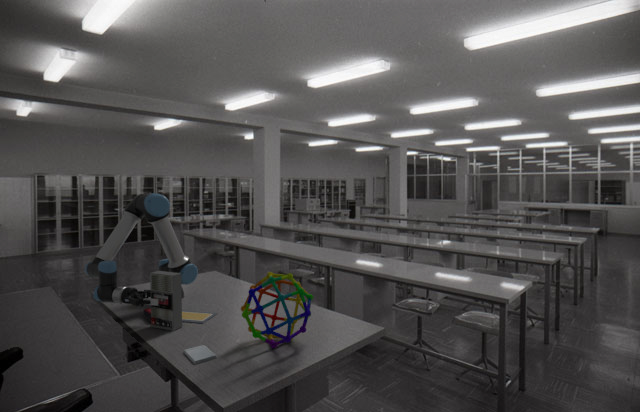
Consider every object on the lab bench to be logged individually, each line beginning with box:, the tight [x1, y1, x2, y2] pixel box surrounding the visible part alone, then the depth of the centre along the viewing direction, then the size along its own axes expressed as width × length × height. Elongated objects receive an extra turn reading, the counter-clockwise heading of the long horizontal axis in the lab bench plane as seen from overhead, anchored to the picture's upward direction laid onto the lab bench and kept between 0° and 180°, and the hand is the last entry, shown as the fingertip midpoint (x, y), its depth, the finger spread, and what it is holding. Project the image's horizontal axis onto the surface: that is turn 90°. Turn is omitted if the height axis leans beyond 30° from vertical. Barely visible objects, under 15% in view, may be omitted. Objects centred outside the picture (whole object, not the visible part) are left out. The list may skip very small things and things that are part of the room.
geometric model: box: [240, 271, 314, 349], centre depth 151 cm, size 30×30×30 cm
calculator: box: [143, 307, 151, 322], centre depth 183 cm, size 11×4×15 cm
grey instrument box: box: [149, 270, 184, 332], centre depth 169 cm, size 14×6×25 cm, turn 67°
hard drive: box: [183, 344, 217, 365], centre depth 140 cm, size 2×8×12 cm
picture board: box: [182, 309, 218, 324], centre depth 183 cm, size 14×21×1 cm, turn 78°
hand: (166, 298), depth 169 cm, fingers open, 12 cm apart
